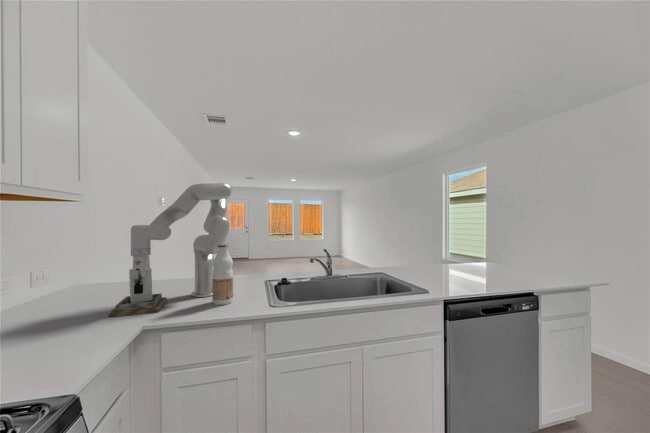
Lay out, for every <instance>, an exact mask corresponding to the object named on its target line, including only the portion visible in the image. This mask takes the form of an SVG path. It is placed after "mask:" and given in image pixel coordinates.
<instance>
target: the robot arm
mask: <svg viewBox="0 0 650 433" xmlns="http://www.w3.org/2000/svg"><path fill="white" fill-rule="evenodd" d="M231 195H232V188H231V186H230V185H229V184H228V183H224V182H217V183H213V182H212V183H197V184H196V183H195V184H192V185H189V186H188V187H187V188H186V189H185V191H183V193H182V194H181V195H179V197H178V198H177V199H176V200H175V201H174V202H173V203H171V205H169V206H168V207H167V208H166V209H164V210H163V211H162V212H160V214H158V215H157V217H155V218H154V219H153V221H152V222H150V223H149V225H147V224H135V225H132V226H131V227H130V257H132V269H133V278H134V294H142V293H143V284H142V280H143V277H144V278H146V277H147V269H148V268H149V267H150V268H151V265H150V264H151V263H150V261H151V260H150V256H151V254H152V253H151V249H152V248H151V247H152V246H151V244H152V243H151V242H152V241H165V240H168V238H170V237H171V235H172V229H171V228H170V227H171V225H173V224H174V223H176V222H177V221H178V220H181V219H184V218H185V217H186V216H188V215H189V213H190V212H192V210H193V209H194V208H195V207H196V206H197V205H198V203H199V202H201V201H210V208H209V211H208V213H207V216H206V218H205V221H204V222H203V230H204V232H206V233H208V234H202V235H201V234H200V235H198V236H197V237H196V238H195V239H194V241H193V244H192V246H193V253H194V291H192V292H191V297H193V298H207V297H212V289H213V271H214V267H213V261H214V259H215V256H214V255H217V252H218V245H219V244H225V242H226V238H227V237H228V234H229V232H230V222H229V220H228V219H227V218H226V214H227V212H228V211H227V210H228V205H227V204H228V203H227V201H226V199H228V198H229V197H230V196H231ZM134 276H135V277H134ZM139 276H141V277H139ZM140 279H141V280H140Z"/></svg>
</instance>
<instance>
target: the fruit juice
mask: <svg viewBox="0 0 650 433" xmlns="http://www.w3.org/2000/svg"><path fill="white" fill-rule="evenodd" d="M233 265H234V260H233V258H232V256H231V254H230V252H229V244H227V243H224V244H219V245H218V252H217V253H216V254H215V256H214V261H213V267H214V271H213V289H212V296H211V297H212V304H213V305H217V306H222V305H224V306H225V305H229V304H232V303H233V301H234V270H233Z"/></svg>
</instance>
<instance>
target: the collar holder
mask: <svg viewBox="0 0 650 433" xmlns="http://www.w3.org/2000/svg"><path fill="white" fill-rule="evenodd" d="M162 296H163V294H162V292H161V293H152V300H151V301H146V302H140V303H132V304H131V301H130V295H129V296H127V295H126V296H125V297H124V298H122V299H121V300H120V301H119V302H118V303H117V304H116V305H115V308H113V309H112V310H111V311H109V313H108V318H116V317H115V316H117V317H123V316H124V317H125V315H126V316H134V315H133V314H136V315H143V313H145V314H150V313H151V314H153V313H154V312H155V313H160V311H161V310H162V308H163V307H164V305H165V303H166V302H167V301H168V300H167V299H168V298H167V297H162Z"/></svg>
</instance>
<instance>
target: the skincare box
mask: <svg viewBox="0 0 650 433" xmlns="http://www.w3.org/2000/svg"><path fill="white" fill-rule="evenodd" d="M152 270H153V269H152V267H151V266H150V267H149V268H148V269H147V277H146V278H144V277H143V280H142V284H143V293H142V294H134V278H133V268H129V270H128V272H129V273H128V274H129V276H128V278H129V296H130V301H131V304H132V303H140V302H146V301H151V300H152V294H153V278H152V275H153V274H152V272H153V271H152ZM134 277H135V276H134ZM139 277H141V276H139ZM140 280H141V279H140Z"/></svg>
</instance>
